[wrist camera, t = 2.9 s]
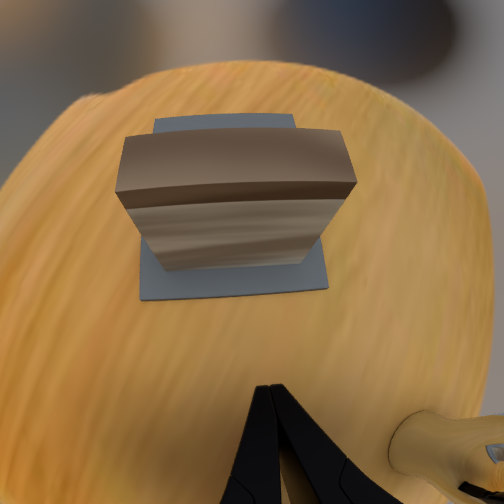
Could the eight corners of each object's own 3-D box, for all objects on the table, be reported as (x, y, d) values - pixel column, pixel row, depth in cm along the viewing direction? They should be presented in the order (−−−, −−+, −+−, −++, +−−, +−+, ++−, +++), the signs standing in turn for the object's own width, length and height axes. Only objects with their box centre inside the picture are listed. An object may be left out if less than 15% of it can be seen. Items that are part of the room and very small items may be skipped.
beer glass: (376, 427, 18) (529, 468, 4) (440, 392, 19) (583, 384, 5) (388, 490, 16) (509, 553, 2) (448, 452, 17) (572, 473, 3)
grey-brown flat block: (300, 263, 22) (357, 182, 12) (165, 271, 21) (114, 191, 11) (294, 227, 23) (340, 130, 13) (166, 234, 22) (125, 137, 12)
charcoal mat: (326, 288, 22) (328, 287, 21) (141, 301, 20) (139, 299, 20) (291, 117, 28) (292, 114, 28) (155, 122, 27) (155, 119, 26)
